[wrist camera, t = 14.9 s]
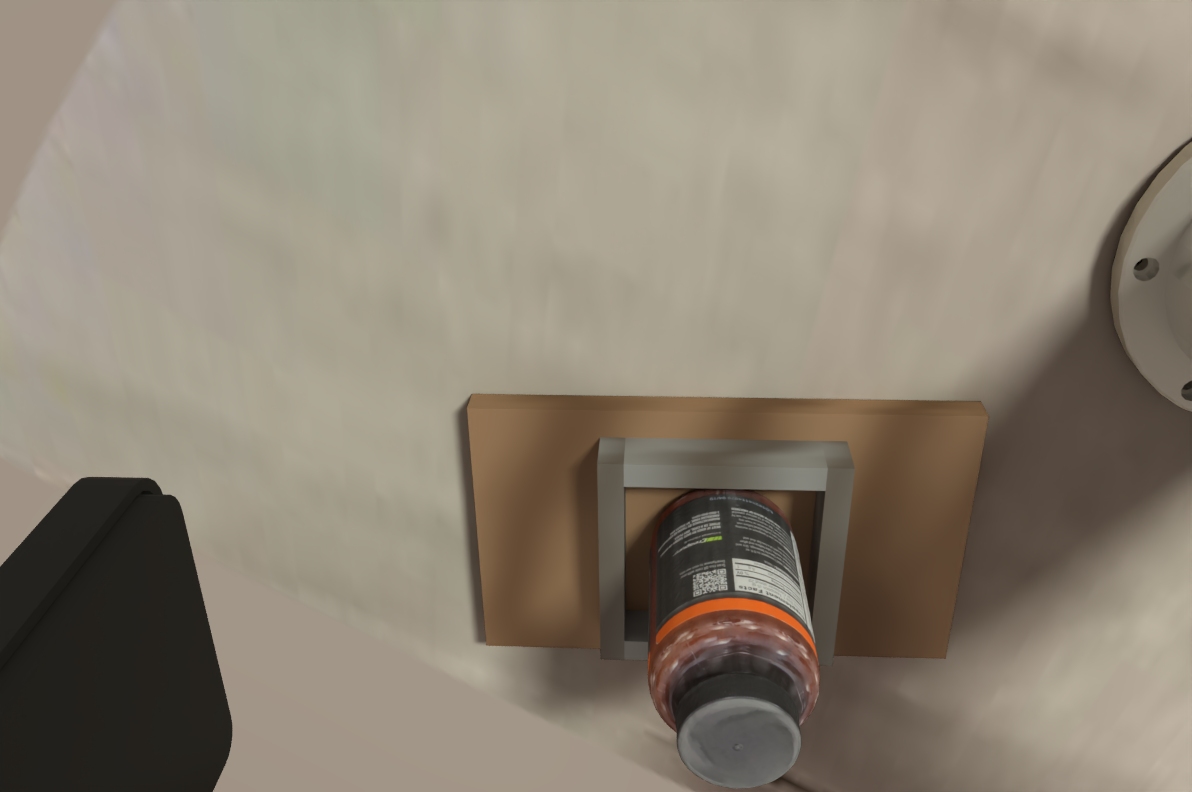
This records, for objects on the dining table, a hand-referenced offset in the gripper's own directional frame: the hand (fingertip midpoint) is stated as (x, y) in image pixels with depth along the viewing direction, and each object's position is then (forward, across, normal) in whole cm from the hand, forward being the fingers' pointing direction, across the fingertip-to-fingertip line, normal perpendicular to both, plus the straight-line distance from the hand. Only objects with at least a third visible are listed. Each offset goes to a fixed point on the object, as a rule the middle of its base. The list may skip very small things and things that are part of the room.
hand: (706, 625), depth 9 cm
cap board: (+30, -2, +20) cm, 36 cm away
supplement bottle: (+29, -2, +20) cm, 36 cm away
